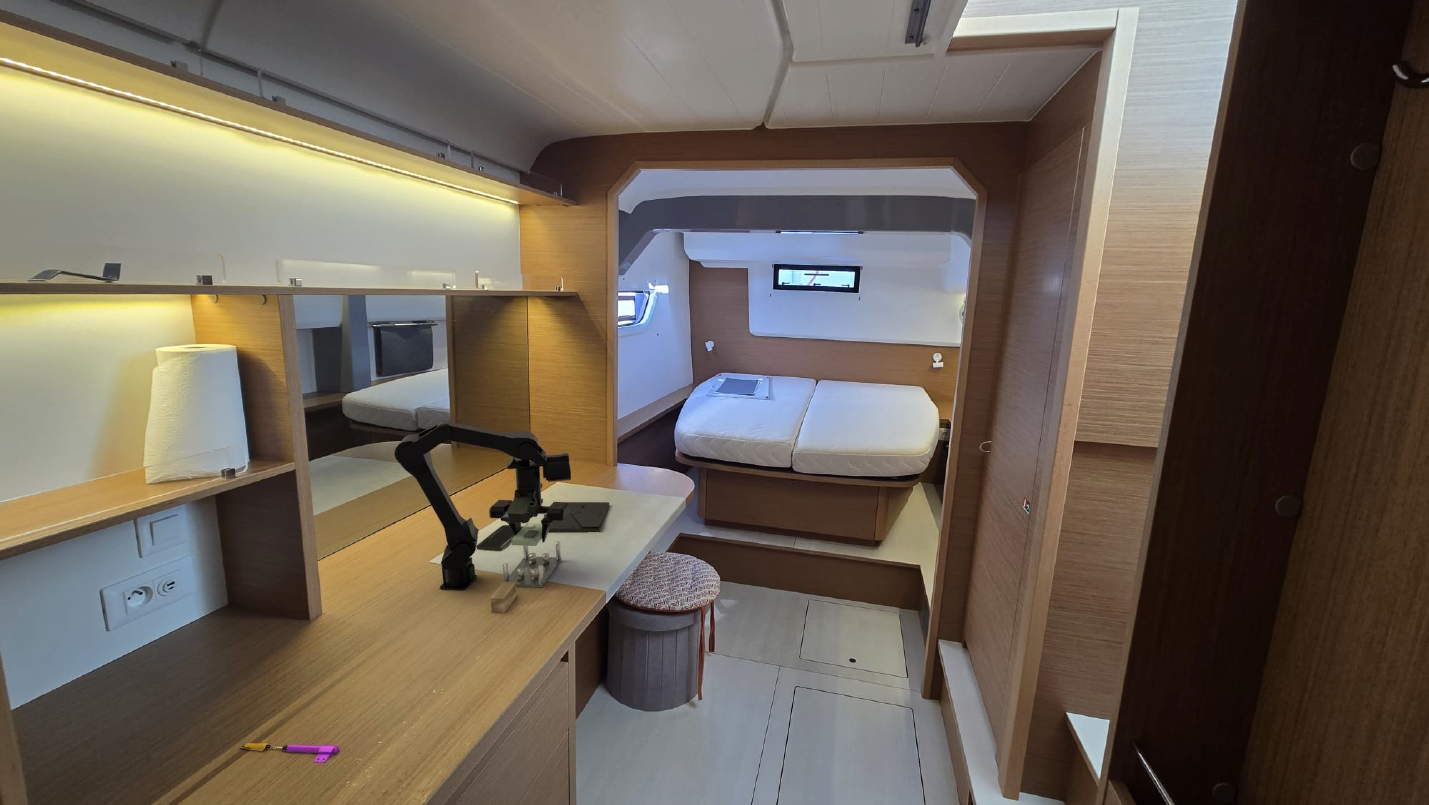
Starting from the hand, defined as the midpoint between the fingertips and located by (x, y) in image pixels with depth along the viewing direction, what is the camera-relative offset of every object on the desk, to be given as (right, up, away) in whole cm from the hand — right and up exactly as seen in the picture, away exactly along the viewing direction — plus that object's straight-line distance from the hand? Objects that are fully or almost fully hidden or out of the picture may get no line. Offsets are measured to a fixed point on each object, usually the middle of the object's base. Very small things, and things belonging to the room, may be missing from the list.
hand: (531, 541), depth 141 cm
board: (0, +1, 0) cm, 1 cm away
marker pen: (-21, -21, -54) cm, 61 cm away
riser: (-2, -11, -12) cm, 17 cm away
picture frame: (+4, -3, +36) cm, 36 cm away
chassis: (0, -9, +2) cm, 9 cm away
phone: (-16, -5, +21) cm, 27 cm away
